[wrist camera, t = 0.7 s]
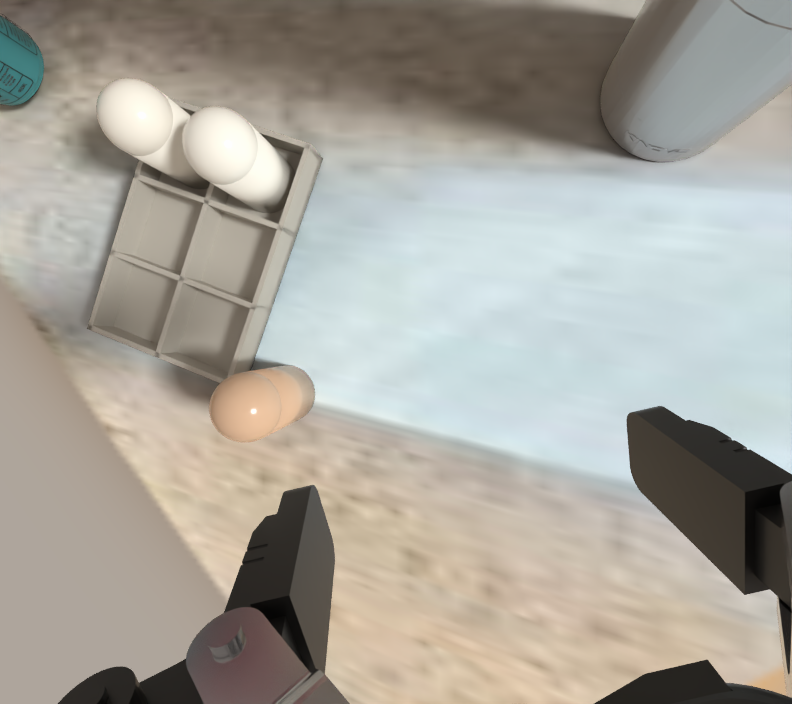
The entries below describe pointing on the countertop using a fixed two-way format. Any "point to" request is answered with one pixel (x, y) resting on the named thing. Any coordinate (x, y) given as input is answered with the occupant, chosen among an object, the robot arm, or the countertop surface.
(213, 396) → the tan rounded cylinder
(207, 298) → the carton
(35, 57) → the beverage bottle
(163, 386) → the countertop surface
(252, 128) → the cream egg
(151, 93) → the cream egg
